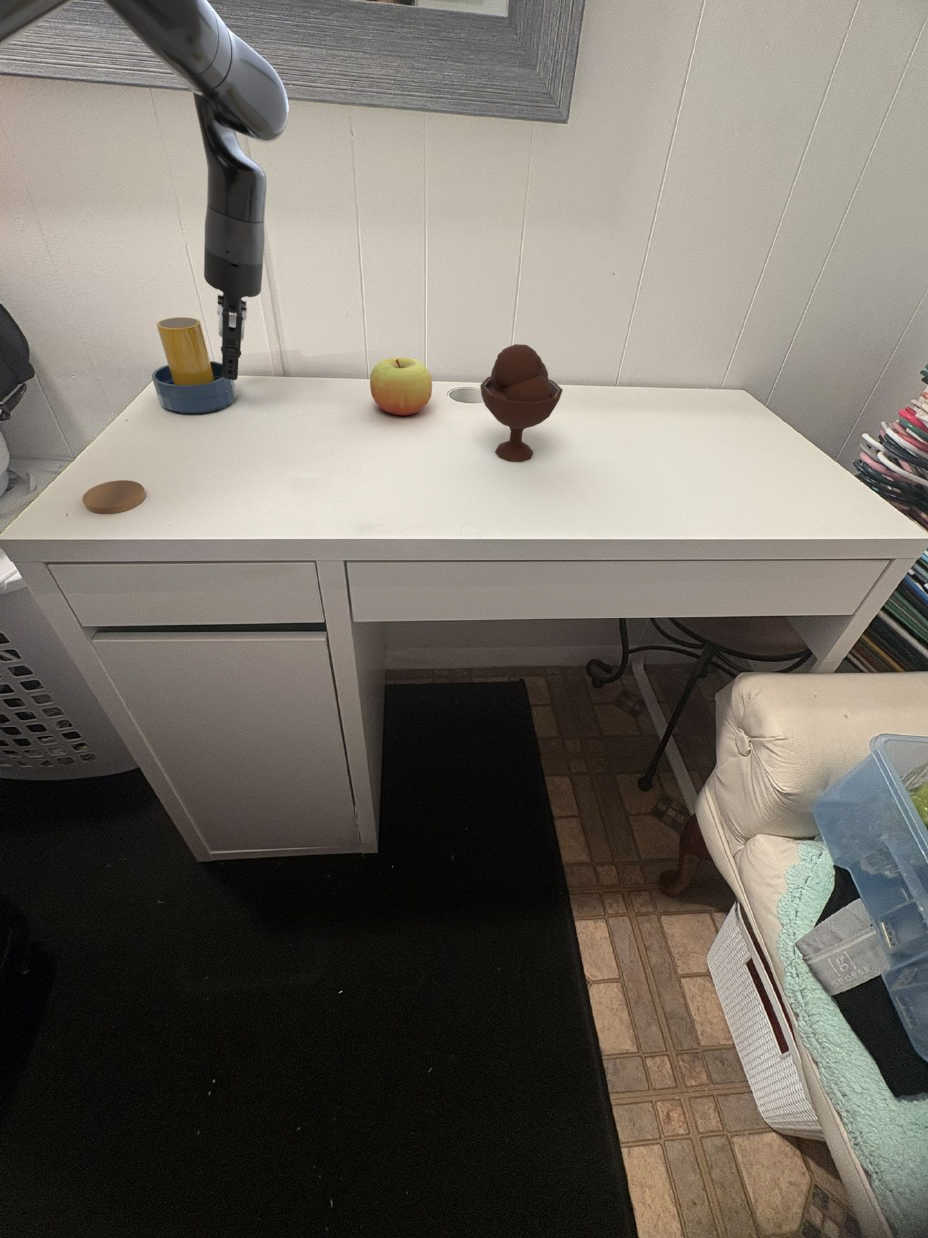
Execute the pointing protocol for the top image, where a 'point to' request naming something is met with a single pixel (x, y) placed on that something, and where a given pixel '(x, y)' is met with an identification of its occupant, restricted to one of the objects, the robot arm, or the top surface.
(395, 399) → the apple
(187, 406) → the bowl
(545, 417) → the ice cream bowl
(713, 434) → the top surface
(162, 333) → the cup
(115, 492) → the coaster
